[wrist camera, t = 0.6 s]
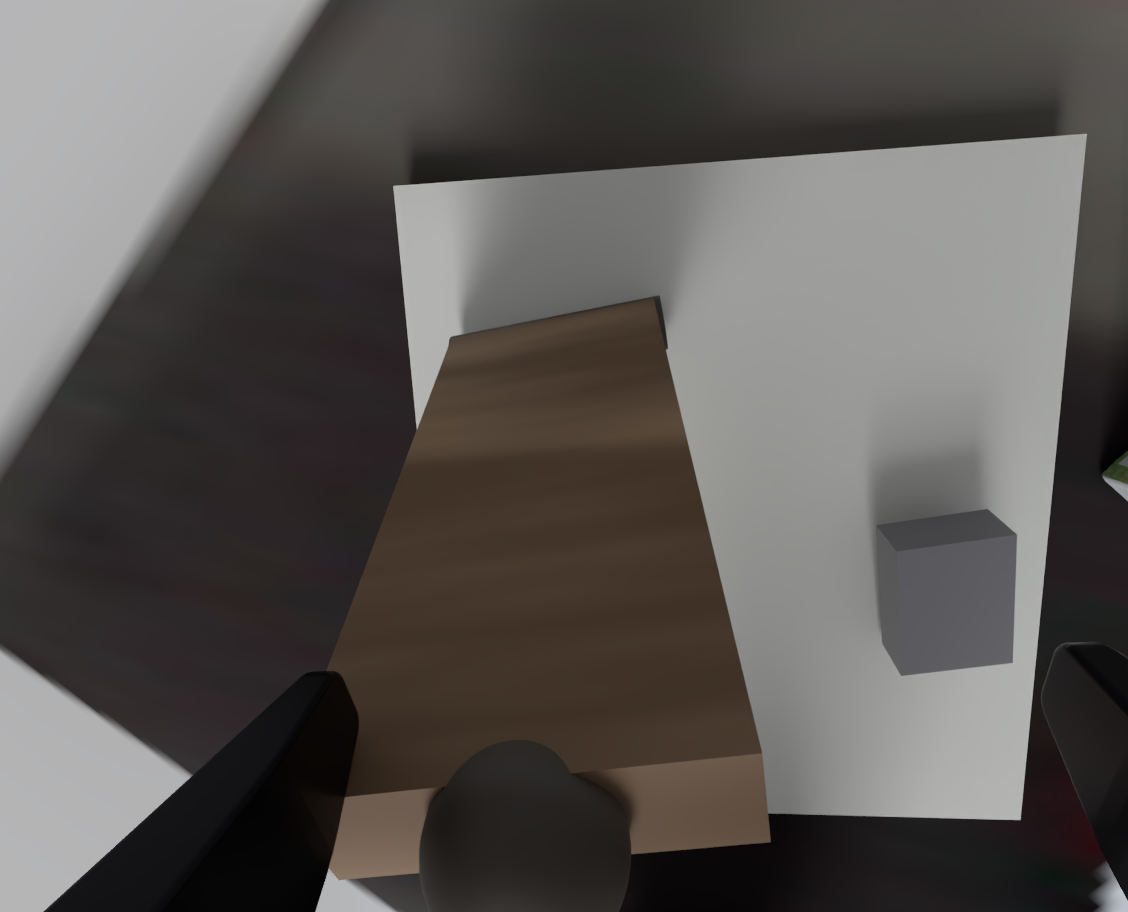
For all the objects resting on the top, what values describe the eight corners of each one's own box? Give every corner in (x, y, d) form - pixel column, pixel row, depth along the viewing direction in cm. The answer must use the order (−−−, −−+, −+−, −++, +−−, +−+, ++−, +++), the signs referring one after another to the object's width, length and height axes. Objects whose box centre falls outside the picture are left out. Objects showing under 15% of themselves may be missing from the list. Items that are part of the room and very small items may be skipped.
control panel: (997, 790, 25) (1030, 832, 23) (463, 778, 27) (449, 816, 25) (1054, 146, 21) (1101, 128, 18) (409, 194, 23) (386, 182, 21)
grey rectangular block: (986, 630, 22) (1012, 662, 20) (882, 643, 22) (901, 675, 21) (988, 509, 20) (1017, 534, 19) (876, 525, 21) (896, 551, 19)
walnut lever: (666, 349, 22) (823, 1000, 8) (473, 386, 23) (296, 1030, 9) (655, 271, 20) (820, 893, 6) (448, 313, 21) (189, 941, 7)
